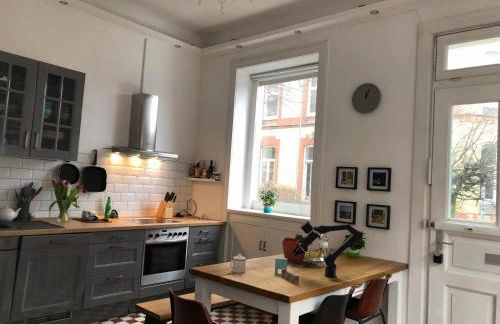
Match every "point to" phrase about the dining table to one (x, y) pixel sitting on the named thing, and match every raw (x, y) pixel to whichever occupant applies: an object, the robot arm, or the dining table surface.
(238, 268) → the teacup with lid
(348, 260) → the dining table surface
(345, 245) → the robot arm
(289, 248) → the plant pot
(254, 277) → the dining table surface
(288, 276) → the walnut rail
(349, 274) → the dining table surface
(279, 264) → the teal notched plate
